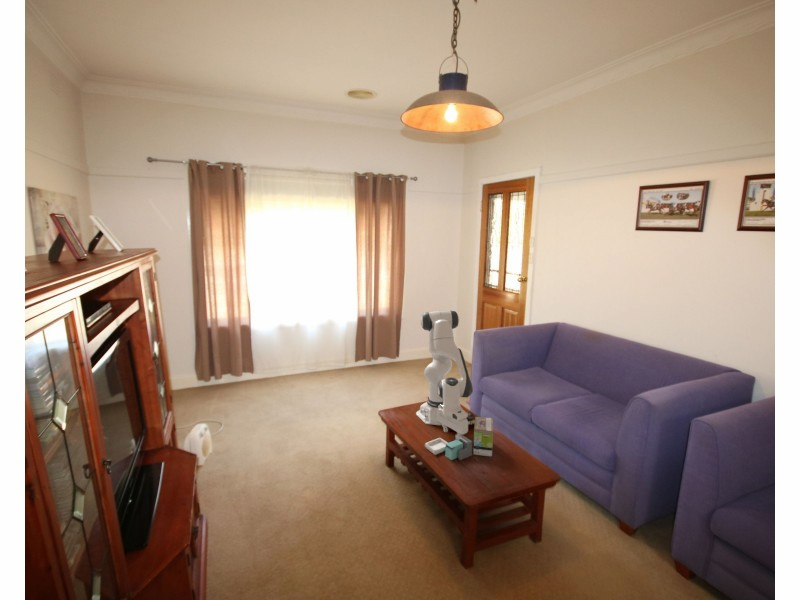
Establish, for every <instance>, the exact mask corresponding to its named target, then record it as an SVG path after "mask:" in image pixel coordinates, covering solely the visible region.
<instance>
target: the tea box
mask: <svg viewBox="0 0 800 600" xmlns="http://www.w3.org/2000/svg"><path fill="white" fill-rule="evenodd" d="M473 429H474V430H473V446H472V455H476V456H483V457H484V456H485V457H492V456H493V449H494V447H493V444H494V433H495V431H494V419H493V417H483V416H482V417H481V416H475V418H474V427H473Z"/></svg>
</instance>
